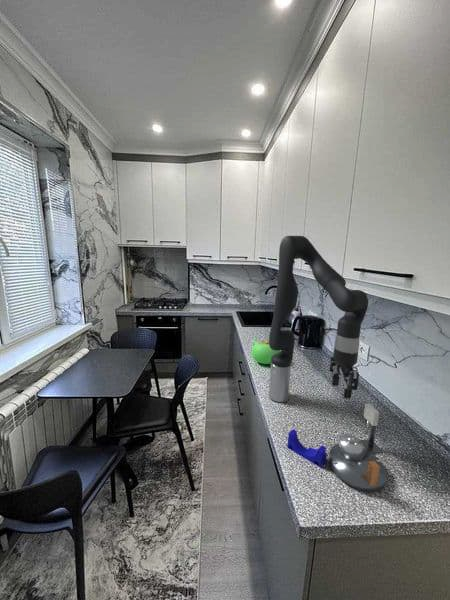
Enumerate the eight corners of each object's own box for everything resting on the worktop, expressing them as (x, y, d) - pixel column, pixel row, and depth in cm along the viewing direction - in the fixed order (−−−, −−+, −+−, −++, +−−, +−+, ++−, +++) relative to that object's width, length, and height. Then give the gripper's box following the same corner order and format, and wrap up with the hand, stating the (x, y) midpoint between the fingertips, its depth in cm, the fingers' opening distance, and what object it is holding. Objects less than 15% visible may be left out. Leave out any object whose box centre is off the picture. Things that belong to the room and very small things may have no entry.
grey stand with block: (358, 442, 91) (364, 402, 88) (371, 441, 91) (377, 402, 88) (368, 455, 85) (375, 413, 82) (382, 454, 85) (389, 413, 83)
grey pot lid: (320, 448, 86) (322, 428, 84) (364, 447, 87) (367, 427, 85) (345, 492, 70) (348, 468, 69) (398, 490, 71) (403, 466, 70)
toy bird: (253, 368, 148) (254, 344, 146) (249, 356, 165) (250, 335, 162) (282, 368, 149) (284, 345, 146) (276, 356, 166) (277, 336, 163)
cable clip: (326, 460, 82) (328, 445, 81) (320, 468, 79) (322, 452, 78) (293, 441, 91) (295, 427, 90) (287, 448, 88) (288, 433, 86)
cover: (334, 444, 85) (335, 431, 84) (353, 443, 86) (355, 430, 85) (345, 461, 78) (347, 446, 77) (366, 460, 79) (368, 446, 78)
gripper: (325, 340, 91) (321, 381, 94) (347, 356, 77) (341, 403, 80) (345, 340, 92) (340, 381, 95) (370, 356, 78) (363, 403, 81)
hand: (340, 391), depth 88 cm, fingers open, 7 cm apart
